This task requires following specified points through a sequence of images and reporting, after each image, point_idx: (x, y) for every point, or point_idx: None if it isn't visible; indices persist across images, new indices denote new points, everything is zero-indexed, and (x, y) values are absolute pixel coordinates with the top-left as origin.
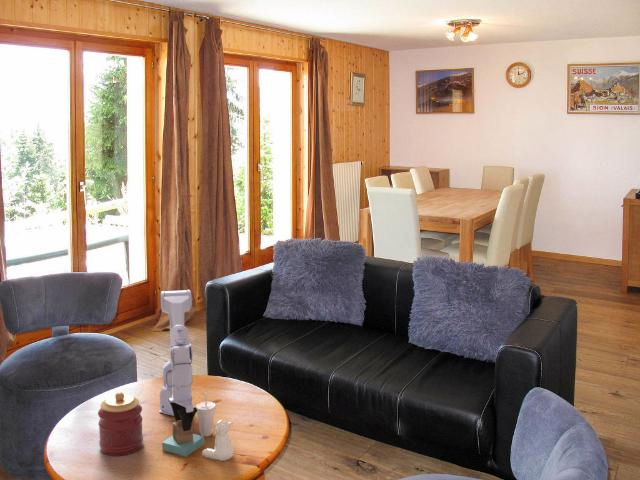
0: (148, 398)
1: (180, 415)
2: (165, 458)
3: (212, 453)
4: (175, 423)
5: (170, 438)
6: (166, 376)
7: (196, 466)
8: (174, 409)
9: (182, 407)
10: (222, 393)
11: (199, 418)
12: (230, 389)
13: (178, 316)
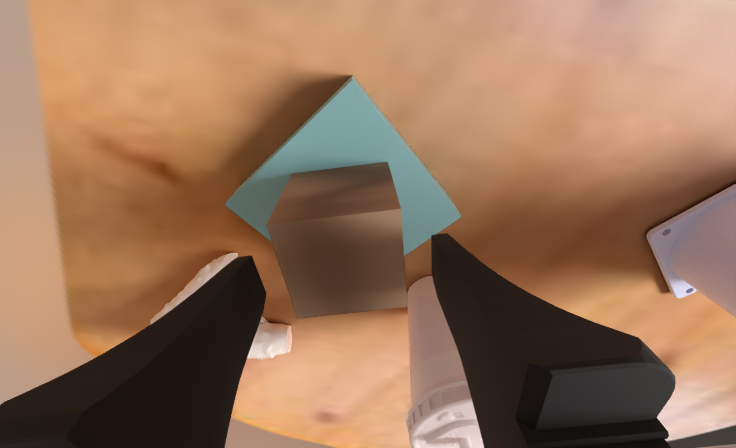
0: None
1: (31, 392)
2: (240, 73)
3: (182, 296)
4: (376, 226)
5: (384, 145)
6: None
7: (135, 210)
8: (470, 302)
9: (465, 366)
10: (701, 383)
11: (439, 342)
12: (703, 403)
13: None
